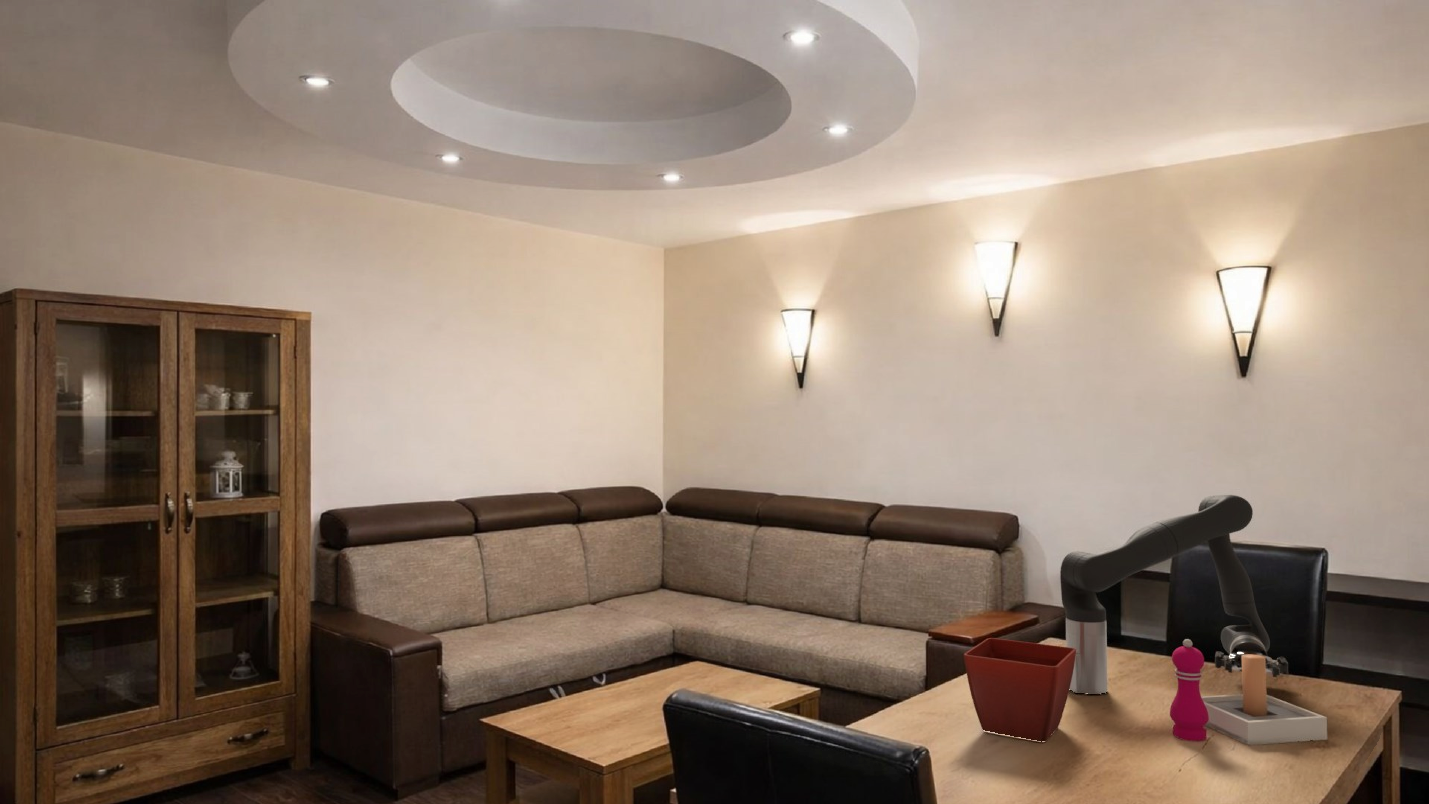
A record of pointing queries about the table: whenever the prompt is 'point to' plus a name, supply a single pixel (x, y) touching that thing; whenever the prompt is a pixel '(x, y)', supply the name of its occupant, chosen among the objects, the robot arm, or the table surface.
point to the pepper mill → (1188, 695)
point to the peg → (1254, 685)
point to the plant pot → (1019, 686)
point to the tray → (1264, 721)
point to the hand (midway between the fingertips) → (1252, 670)
